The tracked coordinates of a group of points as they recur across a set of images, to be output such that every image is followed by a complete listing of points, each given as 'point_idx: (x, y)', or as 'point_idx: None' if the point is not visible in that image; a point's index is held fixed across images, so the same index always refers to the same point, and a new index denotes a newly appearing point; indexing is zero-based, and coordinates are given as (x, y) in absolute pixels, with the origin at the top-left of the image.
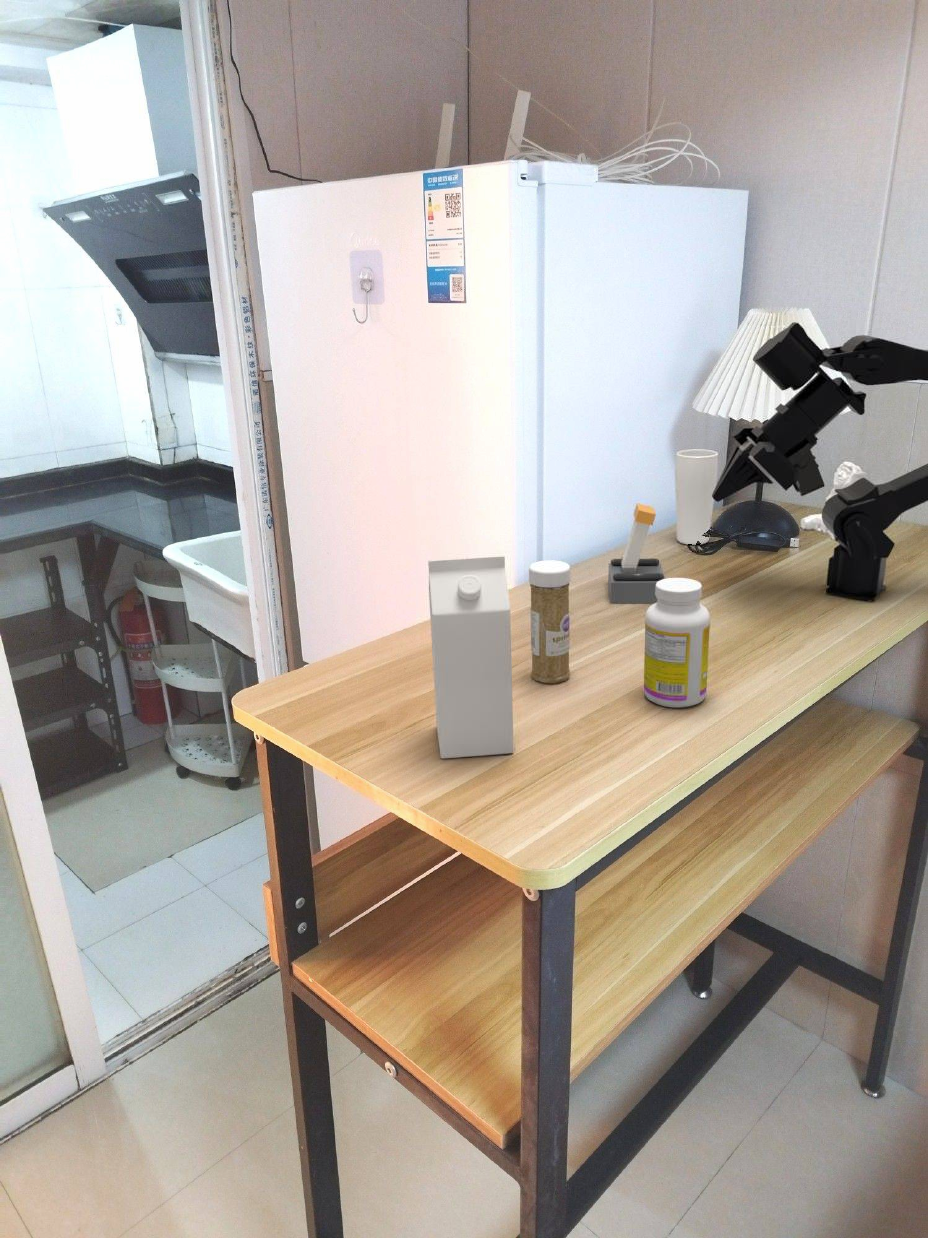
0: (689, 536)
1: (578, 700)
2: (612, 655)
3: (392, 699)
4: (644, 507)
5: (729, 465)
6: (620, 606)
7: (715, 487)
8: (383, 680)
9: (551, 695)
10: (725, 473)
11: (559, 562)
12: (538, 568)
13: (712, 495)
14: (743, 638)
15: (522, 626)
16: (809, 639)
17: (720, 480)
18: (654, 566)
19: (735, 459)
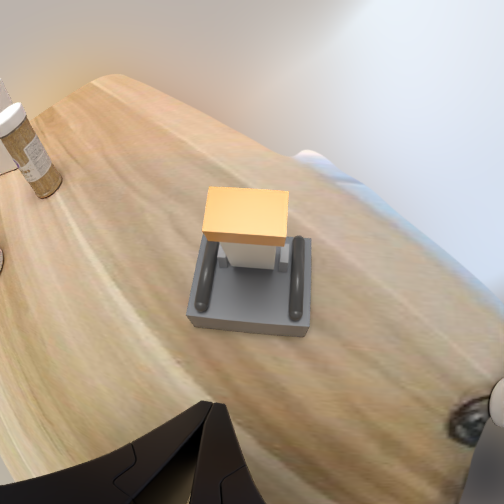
0: (497, 395)
1: (14, 205)
2: (59, 233)
3: (72, 116)
4: (256, 207)
5: (141, 481)
6: (193, 259)
7: (224, 418)
8: (98, 107)
9: (28, 189)
10: (154, 452)
11: (4, 117)
12: (5, 109)
13: (209, 402)
14: (52, 385)
15: (157, 160)
16: (42, 457)
17: (201, 437)
18: (287, 312)
19: (50, 485)
